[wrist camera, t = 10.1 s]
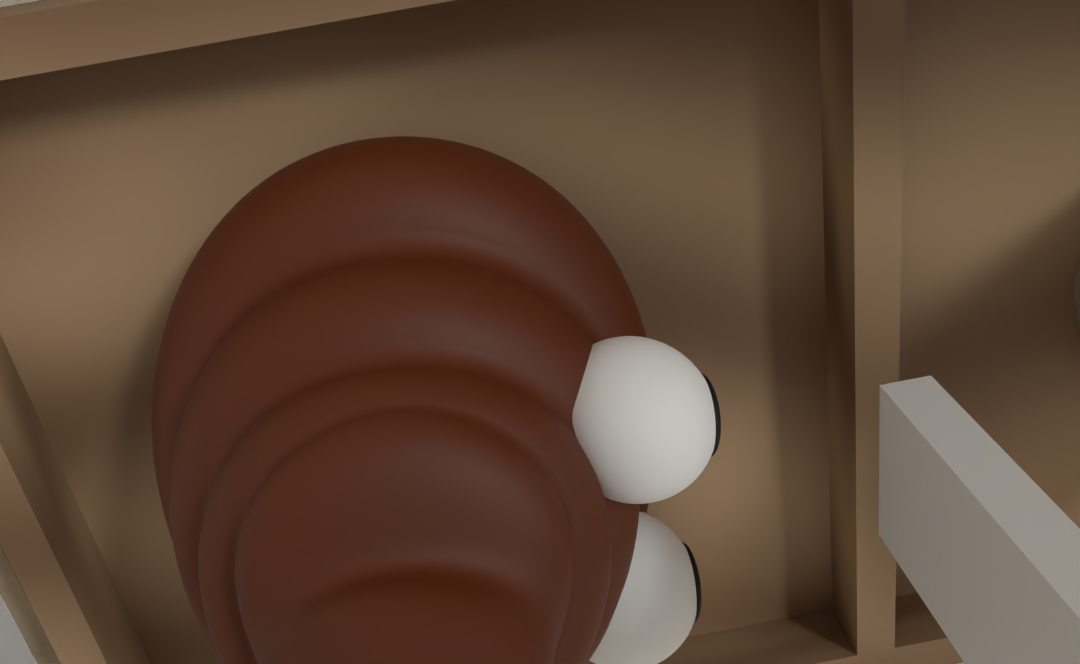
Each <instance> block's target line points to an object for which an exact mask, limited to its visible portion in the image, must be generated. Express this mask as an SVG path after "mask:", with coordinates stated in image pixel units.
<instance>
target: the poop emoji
mask: <svg viewBox="0 0 1080 664" xmlns="http://www.w3.org/2000/svg"><path fill="white" fill-rule="evenodd" d="M720 436H721V417H720V409H719V404H718V400H717V396H716V393H715V390H714V388H713V386H712V384H711V382H710V380H709V379H708V378H707V377H706V376H705V375H704V374H702V373H701V372H700V371H699V370H698V369H697V367H696V366H695V365H694V364H693V363H692V362H691V361H690V360H689V359H688V358H687V357H685V356H684V355H683V354H682V353H680V352H679V351H677V350H676V349H674V348H672V347H671V346H669V345H667V344H665V343H662V342H659V341H657V340H654V339H650V338H647V337H646V333H645V329H644V326H643V323H642V319H641V316H640V313H639V311H638V308H637V305H636V303H635V300H634V298H633V295H632V293H631V290H630V288H629V286H628V284H627V282H626V280H625V278H624V276H623V274H622V272H621V270H620V268H619V266H618V264H617V262H616V261H615V259H614V257H613V256H612V254H611V252H610V251H609V249H608V248H607V246H606V245H605V243H604V242H603V240H602V239H601V238H600V236H599V235H598V233H597V232H596V231H595V230H594V228H593V227H592V226H591V225H590V223H589V222H588V221H587V220H586V219H585V217H584V216H583V215H582V214H581V213H580V212H579V211H578V210H577V209H576V208H575V207H574V206H573V205H572V204H571V203H570V202H569V201H568V200H567V199H566V198H565V197H564V196H563V195H561V194H560V193H559V192H558V191H557V190H555V189H554V188H553V187H552V186H550V185H549V184H548V183H546V182H545V181H544V180H542V179H541V178H539V177H538V176H536V175H535V174H534V173H532V172H530V171H529V170H527V169H525V168H523V167H522V166H520V165H518V164H516V163H514V162H512V161H510V160H508V159H506V158H504V157H501V156H499V155H497V154H494V153H492V152H489V151H487V150H484V149H481V148H478V147H474V146H471V145H467V144H463V143H459V142H454V141H449V140H443V139H437V138H428V137H414V136H395V137H380V138H371V139H364V140H358V141H353V142H348V143H344V144H340V145H337V146H333V147H330V148H327V149H324V150H321V151H319V152H316V153H313V154H311V155H309V156H306V157H304V158H302V159H299V160H297V161H295V162H293V163H291V164H289V165H288V166H286V167H284V168H282V169H281V170H279V171H277V172H276V173H274V174H273V175H271V176H270V177H268V178H267V179H265V180H264V181H263V182H261V183H260V184H259V185H257V186H256V187H255V188H253V189H252V190H251V191H250V192H249V193H247V194H246V195H245V196H244V197H243V198H242V199H241V200H240V201H239V202H238V203H236V204H235V205H234V207H233V208H232V209H231V210H230V211H229V212H228V213H227V214H226V215H225V216H224V217H223V218H222V220H221V221H220V222H219V223H218V224H217V225H216V227H215V228H214V229H213V231H212V232H211V233H210V235H209V236H208V238H207V239H206V240H205V242H204V243H203V245H202V246H201V248H200V249H199V251H198V253H197V254H196V256H195V258H194V259H193V261H192V263H191V265H190V266H189V268H188V270H187V272H186V274H185V276H184V278H183V280H182V282H181V285H180V287H179V289H178V291H177V294H176V296H175V299H174V301H173V304H172V307H171V309H170V312H169V315H168V318H167V322H166V325H165V328H164V332H163V336H162V340H161V344H160V348H159V353H158V358H157V364H156V370H155V377H154V385H153V397H152V444H153V456H154V464H155V472H156V478H157V484H158V489H159V494H160V499H161V503H162V507H163V511H164V515H165V519H166V522H167V526H168V529H169V532H170V536H171V539H172V542H173V545H174V551H175V556H176V560H177V565H178V569H179V573H180V576H181V579H182V583H183V586H184V589H185V592H186V595H187V598H188V600H189V603H190V606H191V608H192V611H193V613H194V615H195V618H196V620H197V622H198V624H199V627H200V629H201V631H202V633H203V635H204V637H205V639H206V641H207V643H208V644H209V646H210V648H211V650H212V651H213V653H214V655H215V657H216V658H217V660H218V661H219V663H220V664H587V663H588V662H589V661H591V662H593V663H595V664H658V663H660V662H662V661H663V660H665V659H666V658H668V657H669V656H670V655H672V654H673V653H674V652H675V651H676V650H677V649H678V648H679V647H680V646H681V644H682V643H683V642H684V641H685V639H686V638H687V636H688V634H689V632H690V630H691V629H692V626H693V624H694V623H696V622H697V620H698V619H699V616H700V612H701V603H702V594H701V583H700V577H699V572H698V568H697V564H696V561H695V558H694V556H693V554H692V552H691V550H690V548H689V547H688V545H687V544H685V543H684V542H682V541H681V540H680V539H679V538H678V536H677V535H676V534H675V533H674V532H673V531H672V530H671V529H670V528H669V527H668V526H666V525H665V524H664V523H662V522H661V521H660V520H658V519H656V518H655V517H653V516H651V515H649V514H647V509H648V505H649V503H653V502H657V501H661V500H664V499H667V498H669V497H672V496H674V495H676V494H677V493H679V492H681V491H682V490H684V489H685V488H686V487H688V486H689V485H690V484H691V483H693V482H694V481H695V480H696V479H697V478H698V476H699V475H700V474H701V473H702V471H703V470H704V468H705V467H706V465H707V464H708V462H709V460H710V458H711V457H712V456H713V455H714V454H715V453H716V451H717V449H718V446H719V442H720Z"/></svg>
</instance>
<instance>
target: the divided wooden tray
mask: <svg viewBox="0 0 1080 664" xmlns="http://www.w3.org/2000/svg"><path fill="white" fill-rule="evenodd" d="M395 136H414V137H428V138H437V139H443V140H449V141H454V142H459V143H463V144H467V145H471V146H474V147H478V148H481V149H484V150H487V151H489V152H492V153H494V154H497V155H499V156H501V157H504V158H506V159H508V160H510V161H512V162H514V163H516V164H518V165H520V166H522V167H523V168H525V169H527V170H529V171H530V172H532V173H534V174H535V175H536V176H538V177H539V178H541V179H542V180H544V181H545V182H546V183H548V184H549V185H550V186H552V187H553V188H554V189H555V190H557V191H558V192H559V193H560V194H561V195H563V196H564V197H565V198H566V199H567V200H568V201H569V202H570V203H571V204H572V205H573V206H574V207H575V208H576V209H577V210H578V211H579V212H580V213H581V214H582V215H583V216H584V217H585V219H586V220H587V221H588V222H589V223H590V225H591V226H592V227H593V228H594V230H595V231H596V232H597V233H598V235H599V236H600V238H601V239H602V240H603V242H604V243H605V245H606V246H607V248H608V249H609V251H610V252H611V254H612V256H613V257H614V259H615V261H616V262H617V264H618V266H619V268H620V270H621V272H622V274H623V276H624V278H625V280H626V282H627V284H628V286H629V288H630V290H631V293H632V295H633V298H634V300H635V303H636V305H637V308H638V311H639V313H640V316H641V319H642V323H643V326H644V329H645V333H646V337H647V338H650V339H654V340H657V341H659V342H662V343H665V344H667V345H669V346H671V347H672V348H674V349H676V350H677V351H679V352H680V353H682V354H683V355H684V356H685V357H687V358H688V359H689V360H690V361H691V362H692V363H693V364H694V365H695V366H696V367H697V369H698V370H699V371H700V372H701V373H702V374H704V375H705V376H706V377H707V378H708V379H709V380H710V382H711V384H712V386H713V388H714V390H715V393H716V396H717V400H718V404H719V409H720V417H721V436H720V442H719V446H718V449H717V451H716V453H715V454H714V455H713V456H712V457H711V458H710V460H709V462H708V464H707V465H706V467H705V468H704V470H703V471H702V473H701V474H700V475H699V476H698V478H697V479H696V480H695V481H694V482H693V483H691V484H690V485H689V486H688V487H686V488H685V489H684V490H682V491H681V492H679V493H677V494H676V495H674V496H672V497H669V498H667V499H664V500H661V501H657V502H653V503H649V505H648V509H647V514H649V515H651V516H653V517H655V518H656V519H658V520H660V521H661V522H662V523H664V524H665V525H666V526H668V527H669V528H670V529H671V530H672V531H673V532H674V533H675V534H676V535H677V536H678V538H679V539H680V540H681V541H682V542H684V543H685V544H687V545H688V547H689V548H690V550H691V552H692V554H693V556H694V558H695V561H696V564H697V568H698V572H699V577H700V583H701V594H702V603H701V612H700V616H699V619H698V620H697V622H696V623H694V624H693V626H692V629H691V630H690V632H689V634H688V636H687V638H686V639H685V641H684V642H683V643H682V644H681V646H680V647H679V648H678V649H677V650H676V651H675V652H674V653H673V654H672V655H670V656H669V657H668V658H666V659H665V660H663V661H662V662H660V663H658V664H957V663H962V662H963V660H962V659H961V657H960V656H959V654H958V653H957V651H956V650H955V648H954V647H953V645H952V644H951V642H950V641H949V639H948V638H947V636H946V635H945V633H944V632H943V630H942V629H941V627H940V626H939V624H938V623H937V621H936V620H935V618H934V617H933V615H932V614H931V612H930V611H929V609H928V608H927V606H926V605H925V603H924V602H923V600H922V599H921V597H920V596H919V594H918V593H917V591H916V590H915V588H914V587H913V585H912V584H911V582H910V581H909V579H908V578H907V576H906V575H905V573H904V572H903V570H902V569H901V567H900V566H899V564H898V563H897V561H896V560H895V558H894V557H893V555H892V554H891V552H890V551H889V549H888V548H887V546H886V545H885V543H884V542H883V540H882V539H881V537H880V536H879V403H880V385H883V384H888V383H893V382H899V381H904V380H909V379H915V378H920V377H925V376H932V377H933V378H934V379H935V380H936V381H937V382H938V383H939V384H940V385H941V386H942V387H943V388H944V389H945V390H946V391H947V393H948V394H949V395H950V396H951V397H952V398H953V399H954V400H955V401H956V402H957V403H958V404H959V405H960V406H961V407H962V408H963V409H964V410H965V411H966V412H967V413H968V414H969V415H970V416H971V417H972V418H973V419H974V420H975V421H976V422H977V423H978V424H979V425H980V426H981V428H982V429H983V430H984V431H985V432H986V433H987V434H988V435H989V436H990V437H991V438H992V439H993V440H994V441H995V442H996V443H997V444H998V445H999V446H1000V447H1001V448H1002V449H1003V450H1004V451H1005V452H1006V453H1007V454H1008V455H1009V456H1010V457H1011V458H1012V459H1013V460H1014V461H1015V463H1016V464H1017V465H1018V466H1019V467H1020V468H1021V469H1022V470H1023V471H1024V472H1025V473H1026V474H1027V475H1028V476H1029V477H1030V478H1031V479H1032V480H1033V481H1034V482H1035V483H1036V484H1037V485H1038V486H1039V487H1040V488H1041V489H1042V490H1043V491H1044V492H1045V493H1046V494H1047V495H1048V496H1049V498H1050V499H1051V500H1052V501H1053V502H1054V503H1055V504H1056V505H1057V506H1058V507H1059V508H1060V509H1061V510H1062V511H1063V512H1064V513H1065V514H1066V515H1067V516H1068V517H1069V518H1070V519H1071V520H1072V521H1073V522H1074V523H1075V524H1076V525H1077V526H1078V527H1079V528H1080V328H1079V325H1078V321H1077V318H1076V310H1075V301H1074V293H1075V277H1076V271H1077V265H1078V259H1079V256H1080V0H41V1H36V2H30V3H24V4H19V5H13V6H7V7H1V8H0V547H1V549H2V551H3V553H4V555H5V557H6V559H7V560H8V562H9V564H10V566H11V568H12V570H13V572H14V574H15V576H16V578H17V580H18V582H19V584H20V586H21V588H22V590H23V592H24V594H25V595H26V597H27V599H28V601H29V603H30V605H31V607H32V609H33V611H34V613H35V615H36V617H37V619H38V621H39V623H40V625H41V627H42V629H43V630H44V632H45V634H46V636H47V638H48V640H49V642H50V644H51V646H52V648H53V650H54V652H55V654H56V656H57V658H58V660H59V662H60V664H220V663H219V661H218V660H217V658H216V657H215V655H214V653H213V651H212V650H211V648H210V646H209V644H208V643H207V641H206V639H205V637H204V635H203V633H202V631H201V629H200V627H199V624H198V622H197V620H196V618H195V615H194V613H193V611H192V608H191V606H190V603H189V600H188V598H187V595H186V592H185V589H184V586H183V583H182V579H181V576H180V573H179V569H178V565H177V560H176V556H175V551H174V545H173V542H172V539H171V536H170V532H169V529H168V526H167V522H166V519H165V515H164V511H163V507H162V503H161V499H160V494H159V489H158V484H157V478H156V472H155V464H154V456H153V444H152V397H153V385H154V377H155V370H156V364H157V358H158V353H159V348H160V344H161V340H162V336H163V332H164V328H165V325H166V322H167V318H168V315H169V312H170V309H171V307H172V304H173V301H174V299H175V296H176V294H177V291H178V289H179V287H180V285H181V282H182V280H183V278H184V276H185V274H186V272H187V270H188V268H189V266H190V265H191V263H192V261H193V259H194V258H195V256H196V254H197V253H198V251H199V249H200V248H201V246H202V245H203V243H204V242H205V240H206V239H207V238H208V236H209V235H210V233H211V232H212V231H213V229H214V228H215V227H216V225H217V224H218V223H219V222H220V221H221V220H222V218H223V217H224V216H225V215H226V214H227V213H228V212H229V211H230V210H231V209H232V208H233V207H234V205H235V204H236V203H238V202H239V201H240V200H241V199H242V198H243V197H244V196H245V195H246V194H247V193H249V192H250V191H251V190H252V189H253V188H255V187H256V186H257V185H259V184H260V183H261V182H263V181H264V180H265V179H267V178H268V177H270V176H271V175H273V174H274V173H276V172H277V171H279V170H281V169H282V168H284V167H286V166H288V165H289V164H291V163H293V162H295V161H297V160H299V159H302V158H304V157H306V156H309V155H311V154H313V153H316V152H319V151H321V150H324V149H327V148H330V147H333V146H337V145H340V144H344V143H348V142H353V141H358V140H364V139H371V138H380V137H395ZM587 664H595V663H593V662H591V661H589V662H588V663H587Z"/></svg>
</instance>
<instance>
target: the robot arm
mask: <svg viewBox="0 0 1080 664" xmlns="http://www.w3.org/2000/svg"><path fill="white" fill-rule="evenodd" d="M879 536H880V537H881V539H882V540H883V542H884V543H885V545H886V546H887V548H888V549H889V551H890V552H891V554H892V555H893V557H894V558H895V560H896V561H897V563H898V564H899V566H900V567H901V569H902V570H903V572H904V573H905V575H906V576H907V578H908V579H909V581H910V582H911V584H912V585H913V587H914V588H915V590H916V591H917V593H918V594H919V596H920V597H921V599H922V600H923V602H924V603H925V605H926V606H927V608H928V609H929V611H930V612H931V614H932V615H933V617H934V618H935V620H936V621H937V623H938V624H939V626H940V627H941V629H942V630H943V632H944V633H945V635H946V636H947V638H948V639H949V641H950V642H951V644H952V645H953V647H954V648H955V650H956V651H957V653H958V654H959V656H960V657H961V659H962V660H963V662H964V663H965V664H1080V528H1079V527H1078V526H1077V525H1076V524H1075V523H1074V522H1073V521H1072V520H1071V519H1070V518H1069V517H1068V516H1067V515H1066V514H1065V513H1064V512H1063V511H1062V510H1061V509H1060V508H1059V507H1058V506H1057V505H1056V504H1055V503H1054V502H1053V501H1052V500H1051V499H1050V498H1049V496H1048V495H1047V494H1046V493H1045V492H1044V491H1043V490H1042V489H1041V488H1040V487H1039V486H1038V485H1037V484H1036V483H1035V482H1034V481H1033V480H1032V479H1031V478H1030V477H1029V476H1028V475H1027V474H1026V473H1025V472H1024V471H1023V470H1022V469H1021V468H1020V467H1019V466H1018V465H1017V464H1016V463H1015V461H1014V460H1013V459H1012V458H1011V457H1010V456H1009V455H1008V454H1007V453H1006V452H1005V451H1004V450H1003V449H1002V448H1001V447H1000V446H999V445H998V444H997V443H996V442H995V441H994V440H993V439H992V438H991V437H990V436H989V435H988V434H987V433H986V432H985V431H984V430H983V429H982V428H981V426H980V425H979V424H978V423H977V422H976V421H975V420H974V419H973V418H972V417H971V416H970V415H969V414H968V413H967V412H966V411H965V410H964V409H963V408H962V407H961V406H960V405H959V404H958V403H957V402H956V401H955V400H954V399H953V398H952V397H951V396H950V395H949V394H948V393H947V391H946V390H945V389H944V388H943V387H942V386H941V385H940V384H939V383H938V382H937V381H936V380H935V379H934V378H933V377H932V376H925V377H920V378H915V379H909V380H904V381H899V382H893V383H888V384H883V385H880V403H879ZM0 664H37V662H36V660H35V659H34V657H33V655H32V653H31V651H30V649H29V647H28V645H27V643H26V642H25V640H24V638H23V636H22V634H21V632H20V630H19V628H18V626H17V625H16V623H15V621H14V619H13V617H12V615H11V613H10V611H9V609H8V608H7V606H6V604H5V602H4V600H3V598H2V596H1V594H0Z"/></svg>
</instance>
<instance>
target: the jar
mask: <svg viewBox="0 0 1080 664" xmlns="http://www.w3.org/2000/svg"><path fill="white" fill-rule="evenodd" d="M1074 301H1075V310H1076V318H1077V321H1078V325H1079V328H1080V256H1079V259H1078V265H1077V271H1076V277H1075V293H1074Z"/></svg>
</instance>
